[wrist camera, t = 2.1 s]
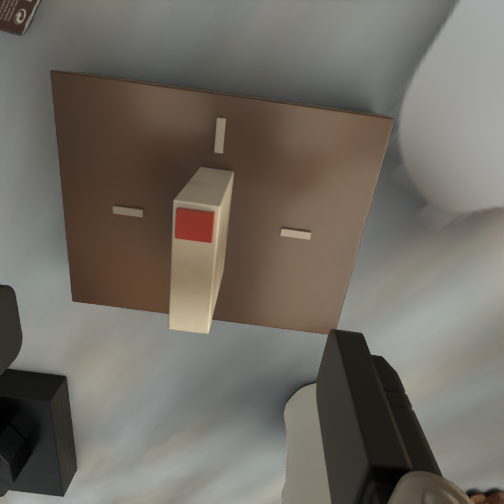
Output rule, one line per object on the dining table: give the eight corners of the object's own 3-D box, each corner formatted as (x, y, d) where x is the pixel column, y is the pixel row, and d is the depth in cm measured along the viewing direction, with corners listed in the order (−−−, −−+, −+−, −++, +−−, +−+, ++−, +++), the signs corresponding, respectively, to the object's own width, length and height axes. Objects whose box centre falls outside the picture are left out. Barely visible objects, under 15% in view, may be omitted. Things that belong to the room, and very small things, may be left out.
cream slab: (223, 271, 18) (207, 339, 13) (193, 267, 18) (166, 333, 13) (234, 171, 16) (219, 208, 11) (199, 166, 16) (171, 202, 11)
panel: (96, 274, 22) (70, 303, 19) (83, 72, 17) (47, 70, 14) (326, 304, 22) (335, 337, 19) (375, 112, 18) (396, 118, 15)
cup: (290, 464, 28) (301, 643, 19) (246, 377, 25) (233, 547, 16) (406, 439, 27) (476, 621, 18) (376, 342, 23) (445, 509, 14)
